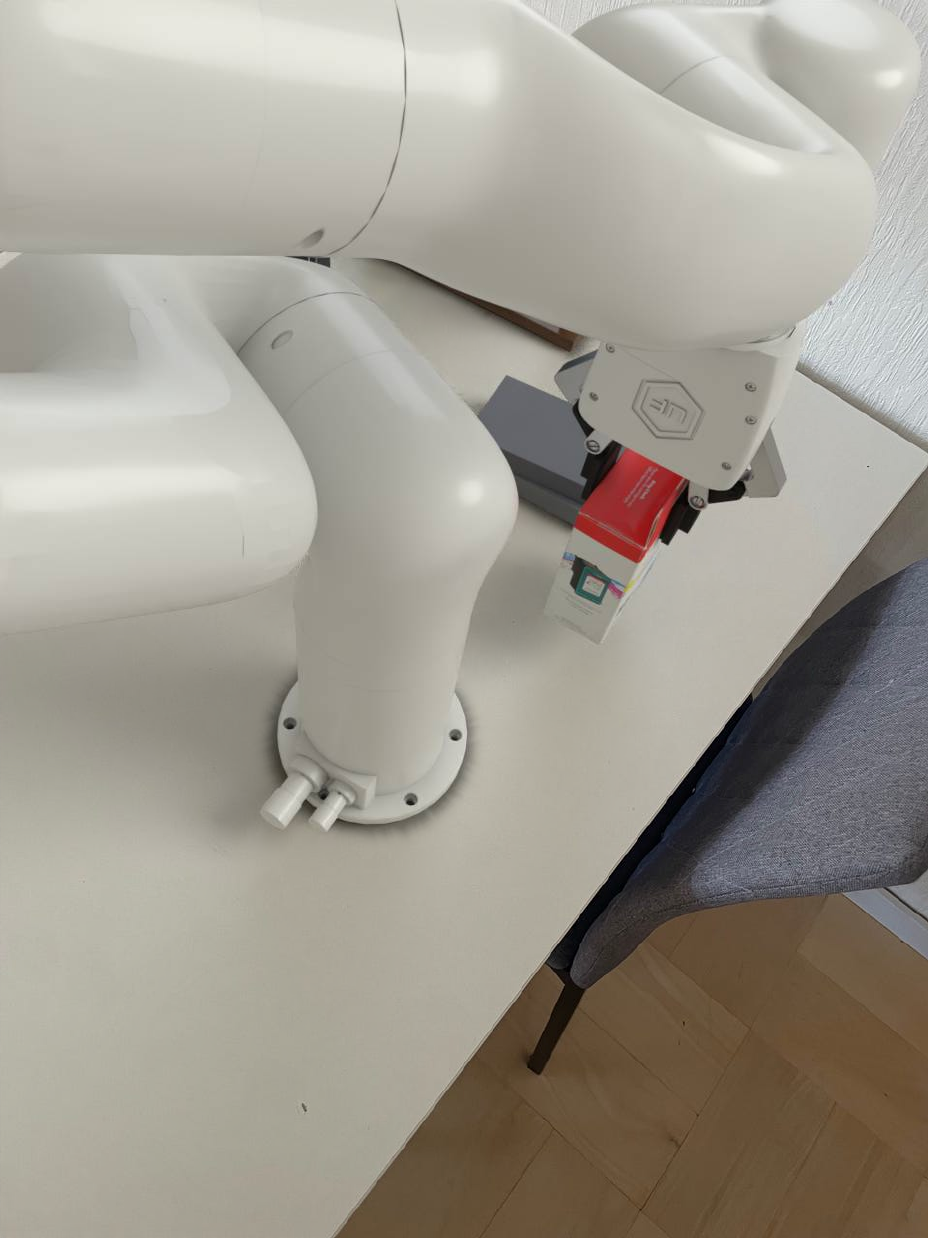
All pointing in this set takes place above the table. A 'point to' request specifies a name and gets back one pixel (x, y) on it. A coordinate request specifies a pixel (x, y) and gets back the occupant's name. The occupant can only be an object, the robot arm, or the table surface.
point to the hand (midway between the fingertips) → (634, 506)
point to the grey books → (539, 445)
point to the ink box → (613, 545)
